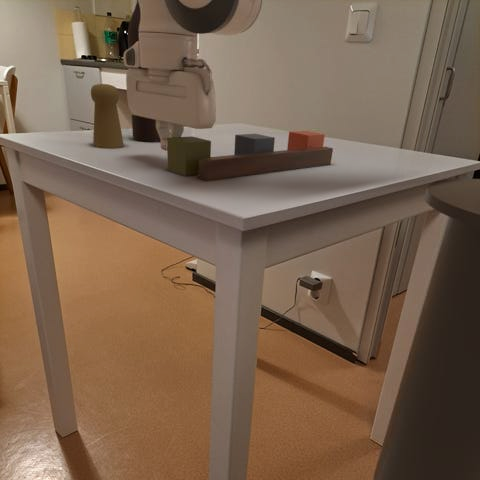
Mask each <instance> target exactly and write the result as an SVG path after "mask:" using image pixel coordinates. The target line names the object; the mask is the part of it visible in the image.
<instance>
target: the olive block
mask: <svg viewBox="0 0 480 480" xmlns="http://www.w3.org/2000/svg"><path fill="white" fill-rule="evenodd" d="M211 150H212V140H208V139H204V138H200V137H196V136H193V135H192V136H191V135H190V136H181V137H173V138H167V151H166V152H167V171H170V172H172V173H175V174H179V175H180V176H181V175H182V176H185V177H188V176H199V158H207V157H212V156H211V155H212V154H211V153H212V151H211Z"/></svg>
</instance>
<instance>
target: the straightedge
mask: <svg viewBox="0 0 480 480" xmlns="http://www.w3.org/2000/svg"><path fill="white" fill-rule="evenodd" d="M333 151H334V148H333V147H329V146H323V147H315V148H304V149H294V150H287V149H285V150H274V151H272V152H261V153H250V154H239V155H234V154H231V155H230V154H228V155H219V156H211V157H207V158H199V174H198V179H200V180H204V181H206V182H207V181H213V180H214V181H215V180H221V179H229V178H236V177H237V178H238V177H244V176H253V175H259V174H266V173H267V174H269V173H275V172H283V171H291V170H299V169H305V168H312V167H321V166H327V165H329V166H330V165H331V164H332V159H333V158H332V156H333Z"/></svg>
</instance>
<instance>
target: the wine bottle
mask: <svg viewBox="0 0 480 480" xmlns="http://www.w3.org/2000/svg"><path fill="white" fill-rule="evenodd" d="M140 19H141V11H140V6H139V2H138V0H136V3H135V6H134V10H133V12H132V14H131V17H130V19H129V23H128V27H127V28H128V29H127V48H128V49H129V48H131V47H132V46H133V45H134V44H135V43H136V42H137V41H139V24H140ZM128 49H127V50H128ZM129 68H130V67H128V69H129ZM131 126H132V128H131V129H132V130H131V131H132V138H133V140H136V141H139V142H148V143H156V142H157V143H158V142H161V140H160V137H159V134H158V131H157V129H156V120H154V119H150V118H145V117H141V116H137V115H133V114H132V113H131Z"/></svg>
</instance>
